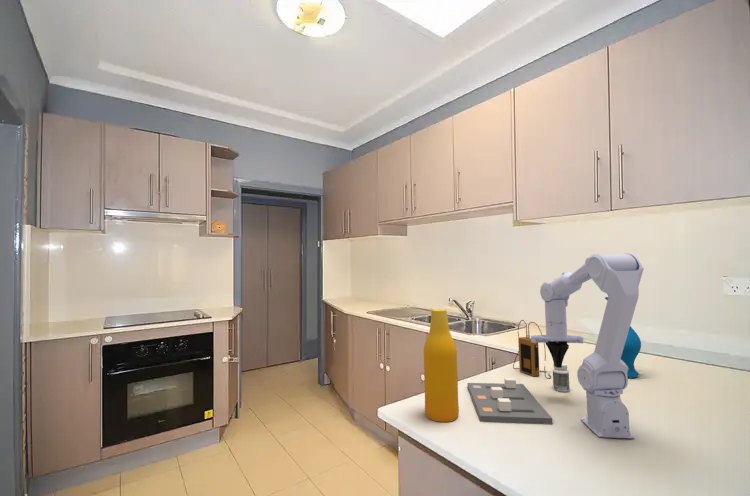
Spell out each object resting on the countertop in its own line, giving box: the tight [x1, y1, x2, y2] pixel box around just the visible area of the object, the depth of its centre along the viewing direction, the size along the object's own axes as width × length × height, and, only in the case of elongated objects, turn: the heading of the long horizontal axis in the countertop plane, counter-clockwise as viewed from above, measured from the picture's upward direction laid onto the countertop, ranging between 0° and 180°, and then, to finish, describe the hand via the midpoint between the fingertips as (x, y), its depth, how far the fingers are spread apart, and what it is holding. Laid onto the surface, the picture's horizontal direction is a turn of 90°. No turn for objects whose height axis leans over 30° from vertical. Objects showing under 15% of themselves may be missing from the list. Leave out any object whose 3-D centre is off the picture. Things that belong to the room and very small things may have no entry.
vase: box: [604, 296, 642, 379], centre depth 129 cm, size 12×13×28 cm
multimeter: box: [512, 319, 552, 379], centre depth 133 cm, size 15×10×20 cm
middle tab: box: [491, 387, 503, 398], centre depth 105 cm, size 2×3×2 cm
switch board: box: [467, 382, 554, 425], centre depth 104 cm, size 26×18×2 cm
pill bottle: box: [552, 362, 570, 393], centre depth 115 cm, size 5×5×8 cm
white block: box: [497, 398, 511, 411], centre depth 96 cm, size 2×3×2 cm
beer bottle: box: [423, 308, 460, 423], centre depth 97 cm, size 9×9×29 cm
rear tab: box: [503, 377, 517, 388], centre depth 113 cm, size 2×3×2 cm
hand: (557, 366), depth 107 cm, fingers closed
